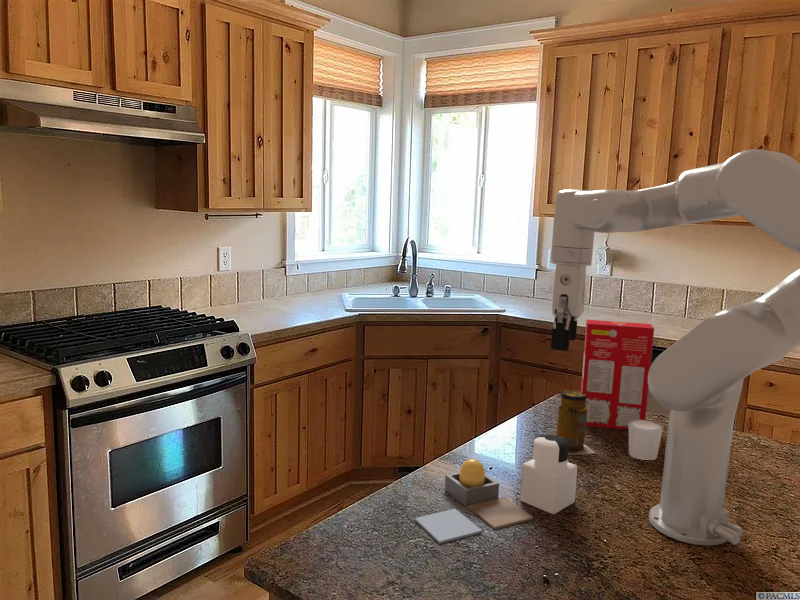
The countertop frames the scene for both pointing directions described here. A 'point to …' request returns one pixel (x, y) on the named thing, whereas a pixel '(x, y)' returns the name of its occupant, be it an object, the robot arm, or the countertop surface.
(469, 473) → the dome
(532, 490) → the medicine bottle
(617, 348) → the food packaging
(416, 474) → the countertop surface
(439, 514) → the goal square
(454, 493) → the dome housing
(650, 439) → the white tapered cylinder
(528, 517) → the step square
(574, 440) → the condiment
